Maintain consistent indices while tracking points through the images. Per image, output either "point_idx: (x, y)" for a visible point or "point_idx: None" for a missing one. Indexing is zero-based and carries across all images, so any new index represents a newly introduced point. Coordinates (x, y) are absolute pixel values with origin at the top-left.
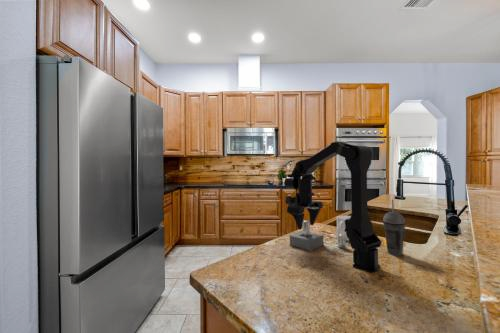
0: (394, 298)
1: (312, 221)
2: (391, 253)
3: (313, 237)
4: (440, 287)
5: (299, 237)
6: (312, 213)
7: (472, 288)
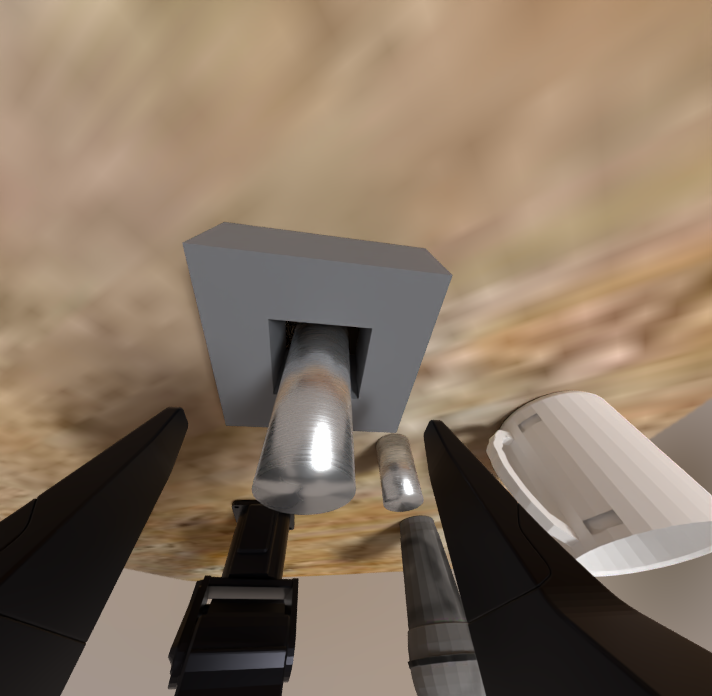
0: (168, 550)
1: (436, 473)
2: (401, 525)
3: None
4: None
5: (220, 350)
6: (502, 607)
7: (308, 575)
